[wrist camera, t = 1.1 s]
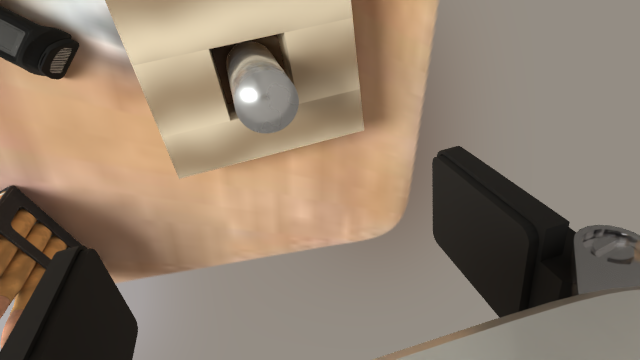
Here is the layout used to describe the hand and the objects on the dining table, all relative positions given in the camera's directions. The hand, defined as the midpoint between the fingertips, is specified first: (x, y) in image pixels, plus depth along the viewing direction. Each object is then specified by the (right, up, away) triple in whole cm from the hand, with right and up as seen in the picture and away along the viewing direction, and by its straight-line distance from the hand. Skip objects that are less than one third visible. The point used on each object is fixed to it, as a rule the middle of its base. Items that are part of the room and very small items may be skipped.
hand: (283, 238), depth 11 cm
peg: (-5, +11, +22) cm, 25 cm away
